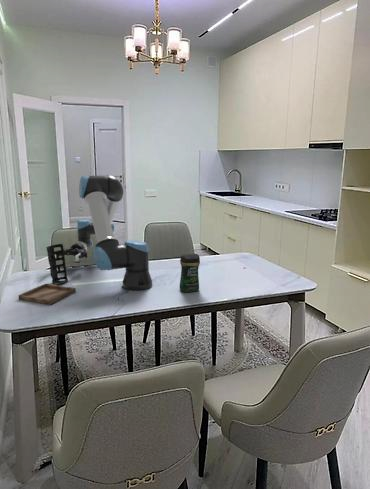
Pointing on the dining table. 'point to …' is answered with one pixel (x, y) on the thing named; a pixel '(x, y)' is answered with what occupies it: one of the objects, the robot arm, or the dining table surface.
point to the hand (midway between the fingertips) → (63, 258)
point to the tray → (47, 294)
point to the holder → (54, 267)
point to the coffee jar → (189, 272)
